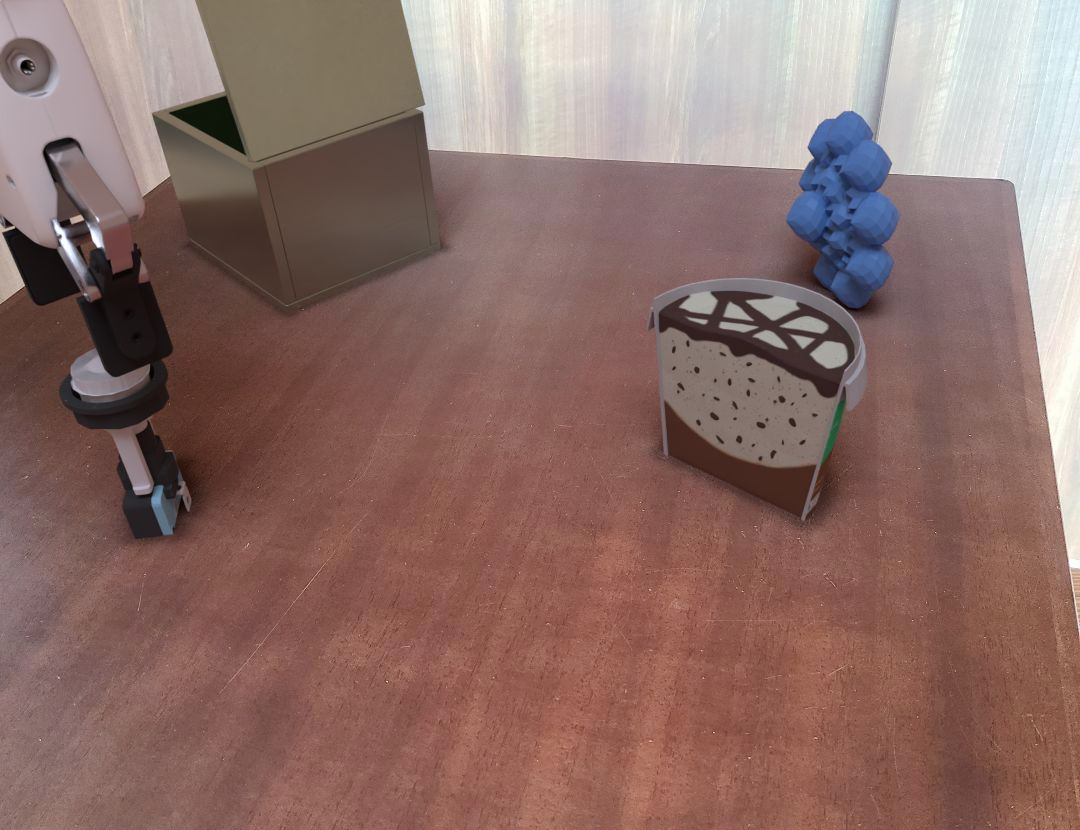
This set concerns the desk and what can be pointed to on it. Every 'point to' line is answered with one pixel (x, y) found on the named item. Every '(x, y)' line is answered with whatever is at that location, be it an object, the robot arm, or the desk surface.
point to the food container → (756, 383)
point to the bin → (302, 201)
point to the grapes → (846, 209)
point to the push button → (131, 437)
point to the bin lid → (310, 67)
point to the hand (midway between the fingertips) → (100, 327)
